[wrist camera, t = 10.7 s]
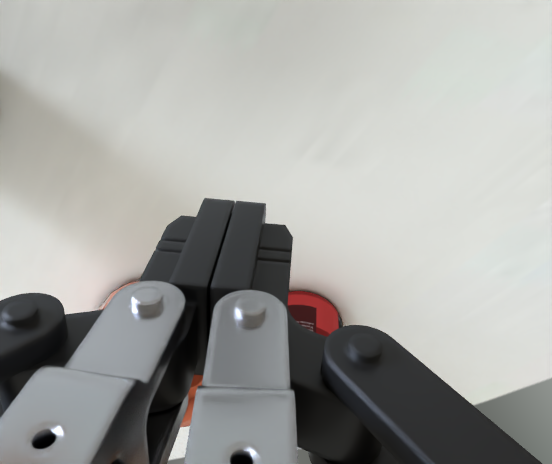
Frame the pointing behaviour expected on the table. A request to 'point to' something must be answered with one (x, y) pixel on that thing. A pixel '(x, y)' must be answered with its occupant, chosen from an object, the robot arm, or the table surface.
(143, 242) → the table surface
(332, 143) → the table surface
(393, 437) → the robot arm
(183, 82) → the table surface
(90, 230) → the table surface
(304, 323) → the canned food
